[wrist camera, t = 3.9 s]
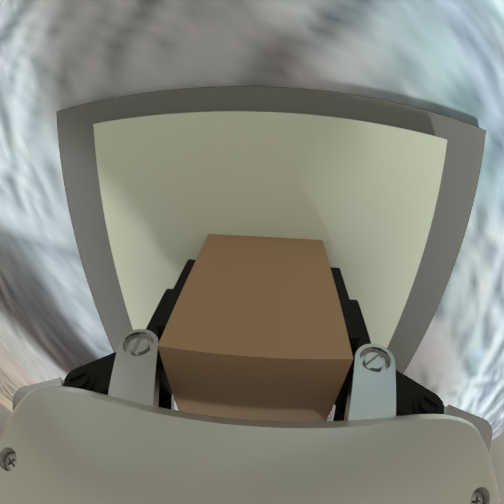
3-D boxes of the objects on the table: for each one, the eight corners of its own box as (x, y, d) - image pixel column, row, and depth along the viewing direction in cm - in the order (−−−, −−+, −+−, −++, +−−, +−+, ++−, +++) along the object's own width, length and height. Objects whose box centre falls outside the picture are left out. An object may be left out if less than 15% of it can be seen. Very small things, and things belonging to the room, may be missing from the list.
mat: (479, 128, 9) (485, 130, 9) (400, 369, 17) (402, 374, 17) (62, 110, 10) (56, 111, 10) (118, 351, 18) (115, 356, 18)
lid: (435, 136, 9) (559, 188, 3) (368, 368, 16) (387, 465, 10) (105, 121, 10) (-24, 161, 4) (150, 354, 17) (114, 446, 11)
